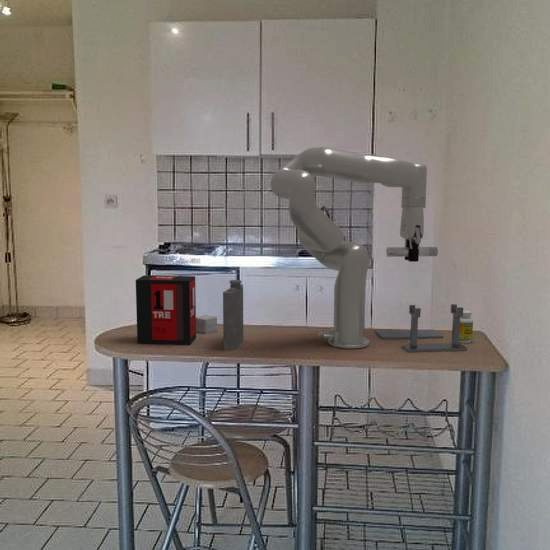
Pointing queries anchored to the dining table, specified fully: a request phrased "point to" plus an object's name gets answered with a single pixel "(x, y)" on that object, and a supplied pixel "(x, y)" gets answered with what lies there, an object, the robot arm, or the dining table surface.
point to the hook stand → (452, 346)
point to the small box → (206, 324)
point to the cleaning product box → (166, 310)
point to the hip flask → (233, 316)
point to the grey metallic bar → (405, 250)
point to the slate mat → (407, 334)
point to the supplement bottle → (466, 327)
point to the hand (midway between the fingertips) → (411, 260)
